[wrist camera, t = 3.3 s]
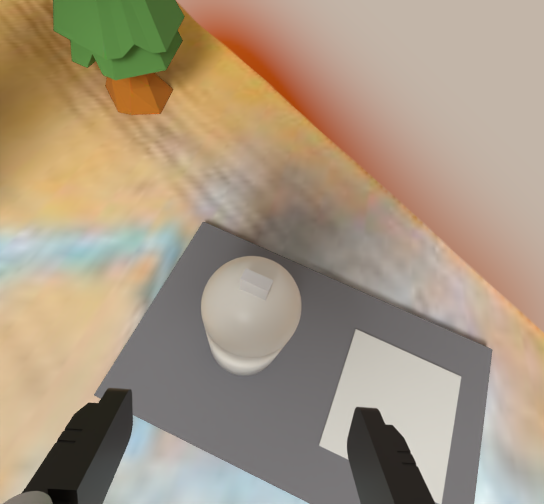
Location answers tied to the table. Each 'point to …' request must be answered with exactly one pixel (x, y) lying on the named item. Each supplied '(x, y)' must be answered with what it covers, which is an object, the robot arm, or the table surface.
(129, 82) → the decorative tree
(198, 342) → the mat
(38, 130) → the table surface
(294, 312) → the white rounded cylinder
